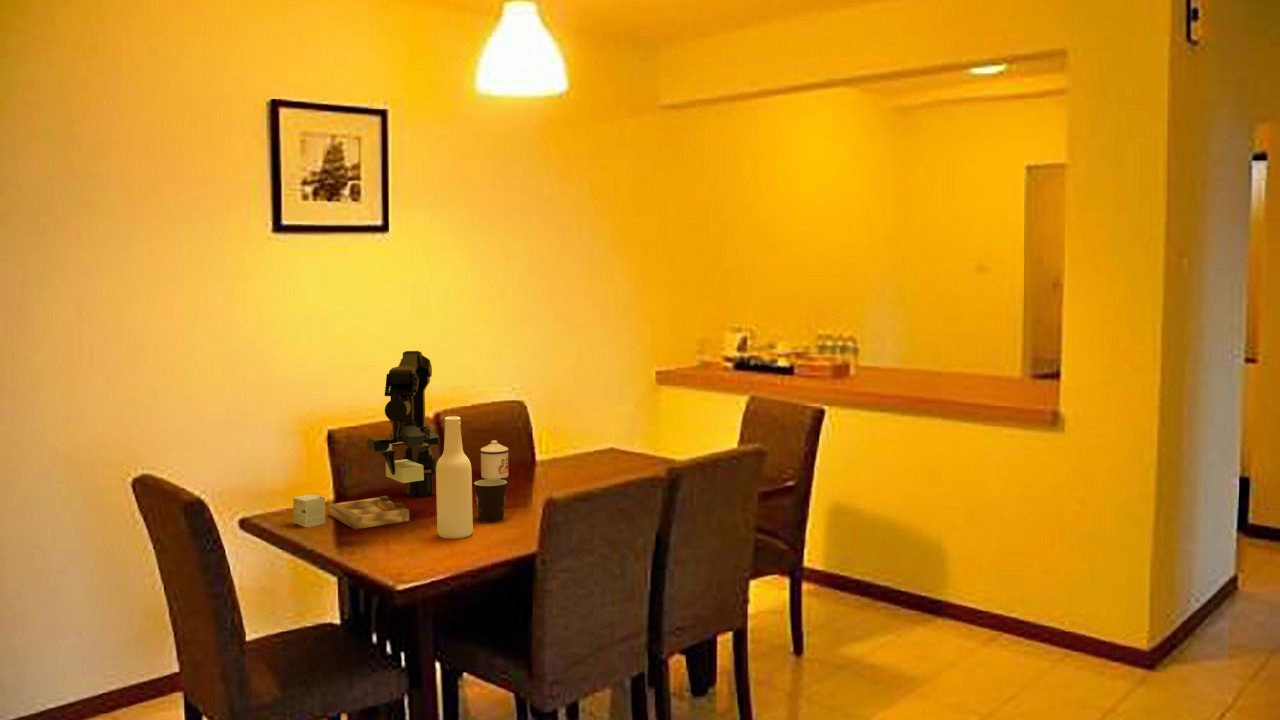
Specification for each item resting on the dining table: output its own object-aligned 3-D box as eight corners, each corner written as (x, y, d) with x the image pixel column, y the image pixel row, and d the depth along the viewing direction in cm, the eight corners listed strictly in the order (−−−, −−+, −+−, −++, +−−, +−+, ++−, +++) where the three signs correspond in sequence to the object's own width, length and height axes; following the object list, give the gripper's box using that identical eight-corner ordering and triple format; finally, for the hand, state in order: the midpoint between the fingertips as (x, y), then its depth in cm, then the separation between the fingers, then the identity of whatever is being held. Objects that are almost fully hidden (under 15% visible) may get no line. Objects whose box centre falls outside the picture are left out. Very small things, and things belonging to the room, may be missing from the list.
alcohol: (441, 530, 274) (438, 414, 271) (475, 530, 274) (473, 414, 271) (434, 539, 265) (431, 419, 262) (469, 539, 265) (466, 419, 262)
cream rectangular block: (406, 473, 294) (406, 459, 294) (423, 480, 285) (423, 465, 285) (386, 476, 291) (385, 461, 290) (402, 483, 282) (402, 468, 281)
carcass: (381, 507, 300) (381, 493, 299) (409, 520, 284) (408, 506, 284) (329, 515, 291) (328, 500, 291) (354, 529, 276) (354, 514, 275)
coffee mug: (501, 524, 280) (500, 486, 279) (470, 522, 282) (469, 485, 281) (515, 513, 292) (514, 477, 291) (485, 512, 294) (484, 476, 293)
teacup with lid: (503, 480, 335) (502, 443, 334) (476, 479, 337) (475, 442, 336) (516, 472, 347) (515, 437, 346) (489, 471, 349) (489, 436, 348)
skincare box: (293, 524, 281) (292, 497, 280) (313, 520, 286) (312, 493, 285) (305, 528, 277) (304, 500, 276) (326, 524, 282) (325, 496, 281)
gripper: (382, 422, 274) (384, 482, 276) (448, 415, 286) (449, 473, 287) (365, 417, 283) (366, 475, 285) (429, 411, 294) (430, 467, 296)
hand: (404, 473), depth 288 cm, fingers closed on cream rectangular block, 6 cm apart
